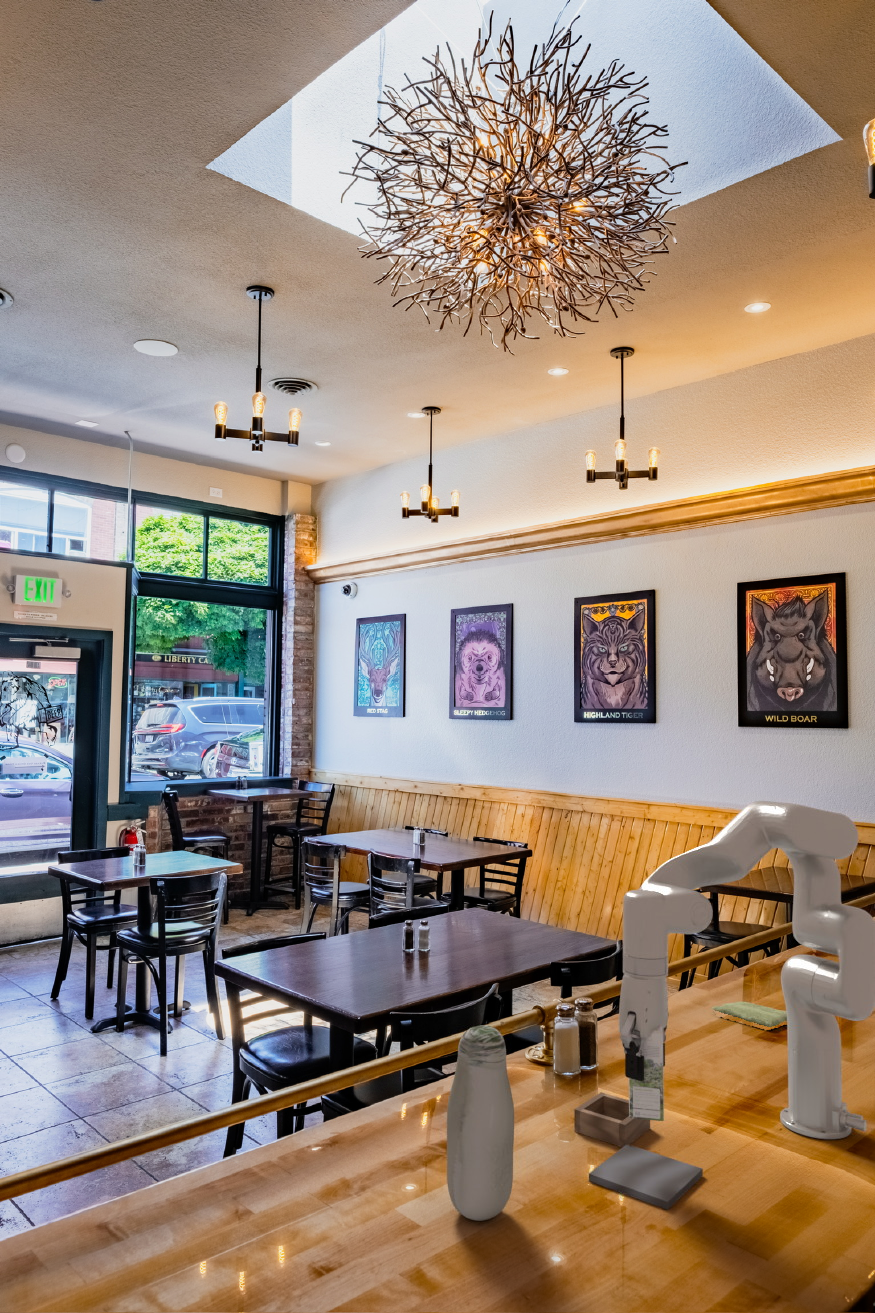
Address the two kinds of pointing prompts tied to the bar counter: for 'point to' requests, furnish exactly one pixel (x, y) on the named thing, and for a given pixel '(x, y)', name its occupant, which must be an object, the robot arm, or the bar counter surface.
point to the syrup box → (649, 1081)
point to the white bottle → (480, 1126)
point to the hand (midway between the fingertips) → (645, 1071)
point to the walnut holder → (608, 1120)
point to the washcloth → (753, 1013)
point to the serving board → (646, 1176)
